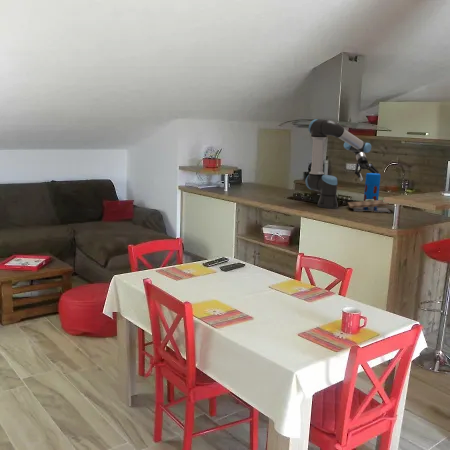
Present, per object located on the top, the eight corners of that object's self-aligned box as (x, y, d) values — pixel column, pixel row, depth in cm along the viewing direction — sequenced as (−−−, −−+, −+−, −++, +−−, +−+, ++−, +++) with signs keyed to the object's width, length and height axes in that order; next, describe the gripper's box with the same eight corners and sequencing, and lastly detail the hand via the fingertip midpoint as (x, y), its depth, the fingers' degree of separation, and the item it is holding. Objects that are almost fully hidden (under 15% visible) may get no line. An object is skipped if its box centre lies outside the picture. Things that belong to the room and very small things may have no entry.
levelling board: (350, 208, 369) (350, 203, 368) (347, 204, 385) (347, 200, 384) (395, 205, 365) (395, 200, 364) (391, 201, 381) (391, 196, 380)
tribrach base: (354, 211, 370) (354, 205, 369) (351, 207, 384) (351, 202, 383) (390, 212, 368) (391, 207, 367) (386, 209, 381) (387, 204, 380)
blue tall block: (367, 207, 387) (370, 174, 382) (360, 204, 397) (363, 173, 392) (380, 207, 390) (383, 174, 385) (372, 204, 400) (375, 173, 395)
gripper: (373, 162, 413) (381, 183, 402) (345, 162, 407) (353, 183, 396) (377, 156, 407) (386, 177, 396) (349, 156, 401) (357, 177, 390)
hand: (369, 180), depth 396 cm, fingers open, 13 cm apart
